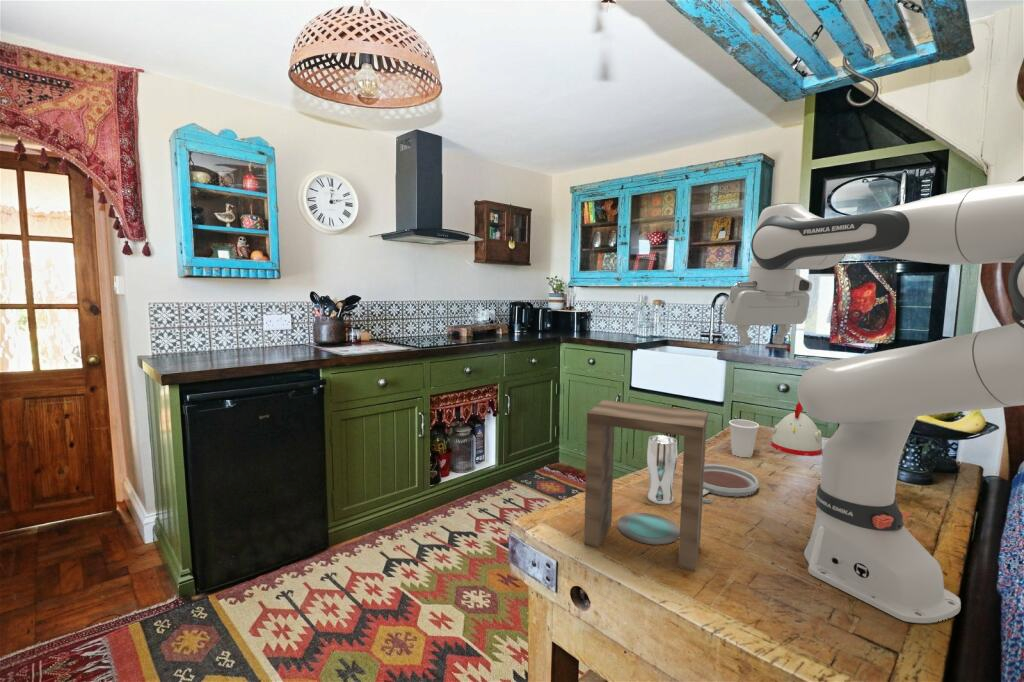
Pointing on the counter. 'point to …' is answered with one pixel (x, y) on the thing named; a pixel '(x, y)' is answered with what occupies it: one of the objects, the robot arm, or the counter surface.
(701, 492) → the shelf bridge
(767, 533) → the counter surface
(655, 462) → the beer glass
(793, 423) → the kitchen timer
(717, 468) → the frying pan
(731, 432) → the dixie cup
